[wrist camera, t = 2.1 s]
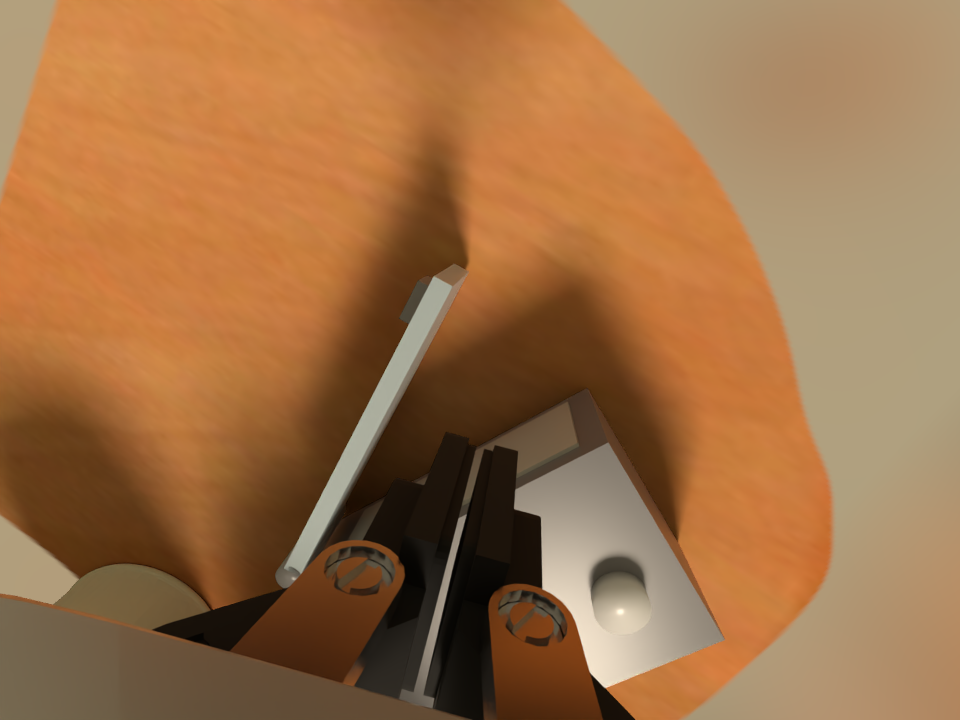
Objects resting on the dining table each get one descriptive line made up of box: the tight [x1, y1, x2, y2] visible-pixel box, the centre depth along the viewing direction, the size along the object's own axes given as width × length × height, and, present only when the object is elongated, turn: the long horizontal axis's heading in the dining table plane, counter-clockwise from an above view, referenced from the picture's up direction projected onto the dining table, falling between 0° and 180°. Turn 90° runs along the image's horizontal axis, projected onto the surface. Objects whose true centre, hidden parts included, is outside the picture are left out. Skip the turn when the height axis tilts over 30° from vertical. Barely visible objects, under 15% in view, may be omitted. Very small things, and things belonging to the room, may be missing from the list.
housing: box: [322, 388, 725, 708], centre depth 22 cm, size 16×9×7 cm, turn 122°
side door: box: [275, 264, 469, 589], centre depth 21 cm, size 14×2×5 cm, turn 151°
